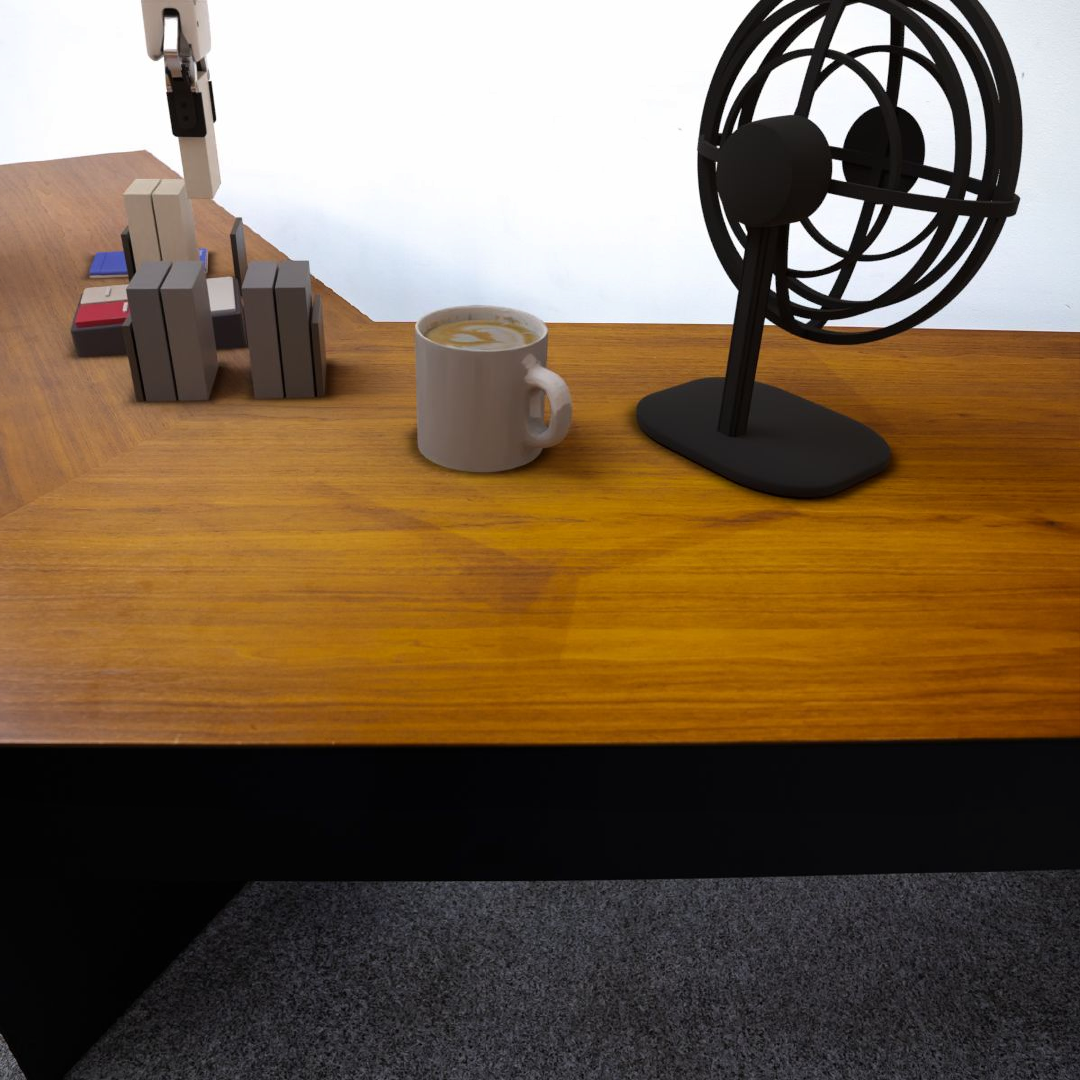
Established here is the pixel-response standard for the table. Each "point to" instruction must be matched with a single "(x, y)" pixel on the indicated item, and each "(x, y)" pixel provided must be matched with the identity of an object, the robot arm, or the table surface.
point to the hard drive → (122, 264)
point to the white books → (168, 227)
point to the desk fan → (795, 194)
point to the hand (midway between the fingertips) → (195, 127)
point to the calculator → (109, 309)
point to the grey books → (188, 337)
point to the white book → (201, 153)
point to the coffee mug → (486, 388)
